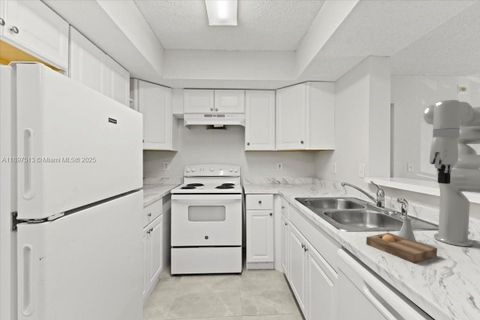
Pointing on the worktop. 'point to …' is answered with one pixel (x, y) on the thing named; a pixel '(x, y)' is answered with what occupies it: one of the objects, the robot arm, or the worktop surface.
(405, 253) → the board
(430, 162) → the robot arm
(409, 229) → the flask
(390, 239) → the ball
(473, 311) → the worktop surface
